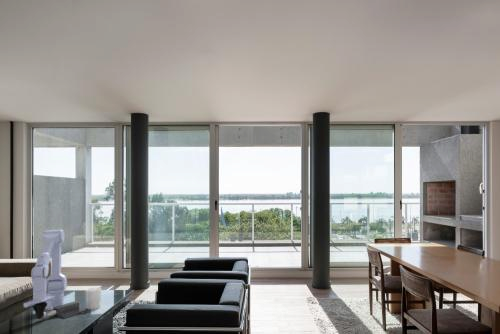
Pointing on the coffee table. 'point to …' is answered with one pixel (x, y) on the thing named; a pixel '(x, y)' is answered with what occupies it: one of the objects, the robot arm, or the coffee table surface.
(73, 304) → the hinge leaves
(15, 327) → the coffee table surface
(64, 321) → the coffee table surface
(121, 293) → the coffee table surface
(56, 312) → the hinge pin
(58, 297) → the robot arm
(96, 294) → the white cup
